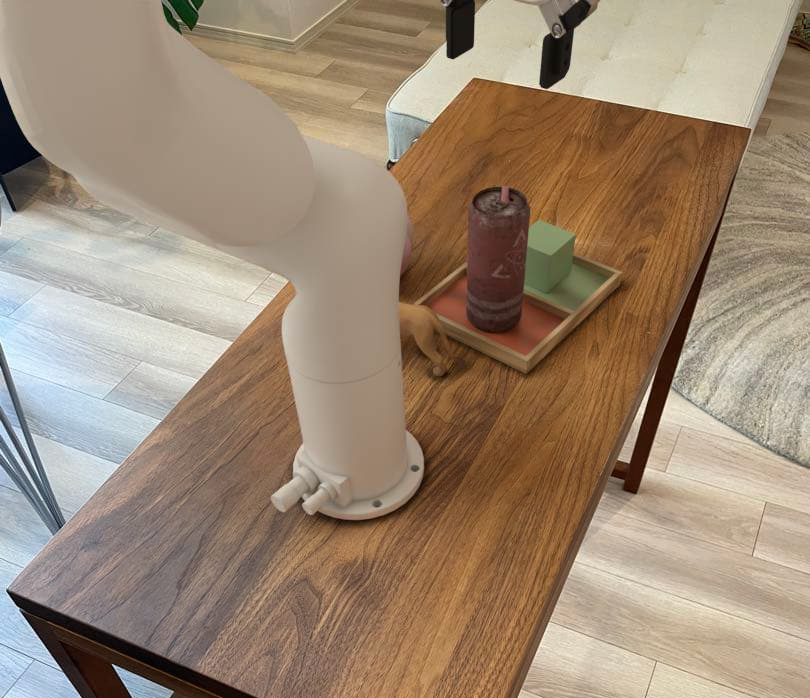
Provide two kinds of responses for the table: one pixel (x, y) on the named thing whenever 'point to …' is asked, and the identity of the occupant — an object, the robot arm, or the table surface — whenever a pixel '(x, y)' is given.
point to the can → (496, 258)
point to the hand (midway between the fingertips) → (505, 67)
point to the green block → (548, 255)
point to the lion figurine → (425, 333)
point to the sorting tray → (526, 312)
